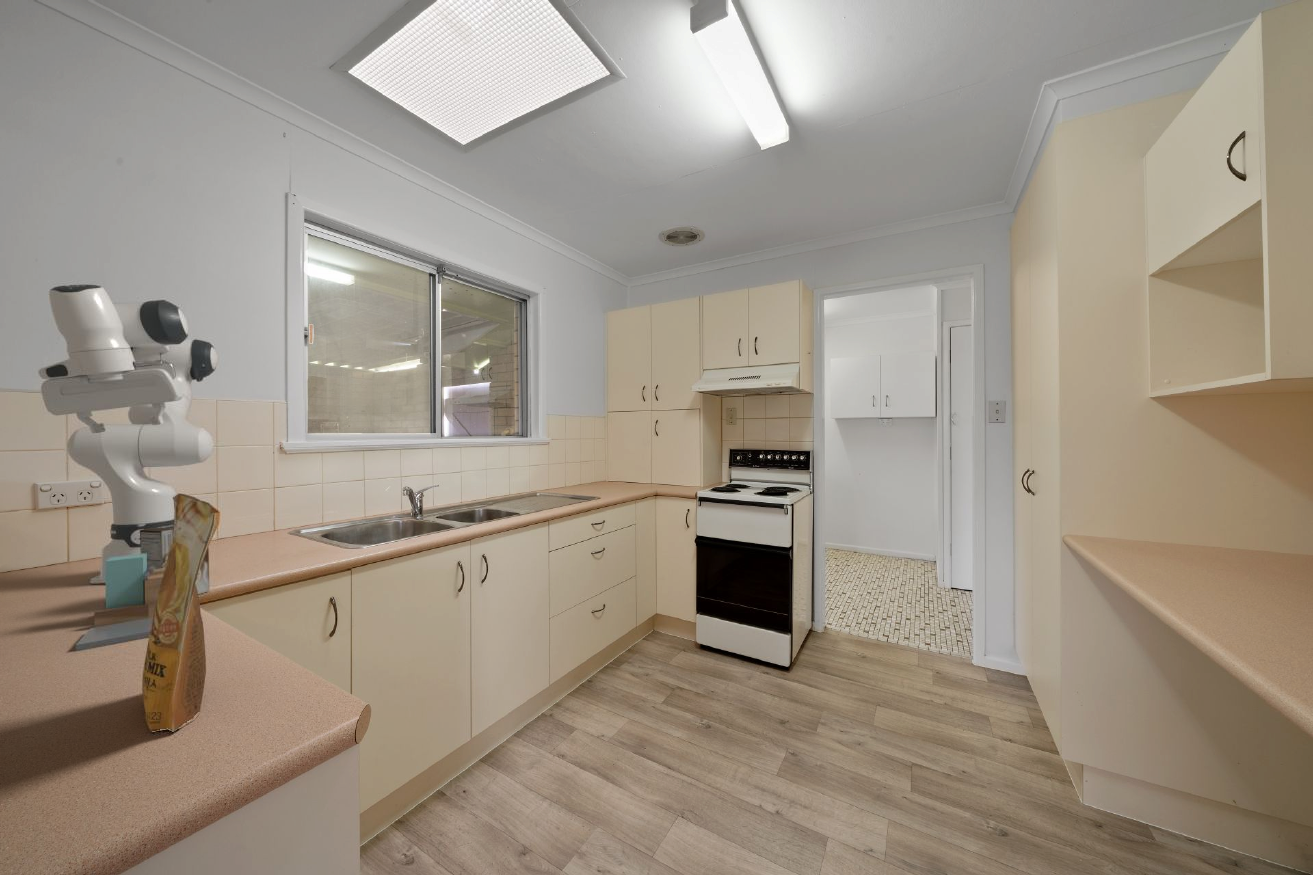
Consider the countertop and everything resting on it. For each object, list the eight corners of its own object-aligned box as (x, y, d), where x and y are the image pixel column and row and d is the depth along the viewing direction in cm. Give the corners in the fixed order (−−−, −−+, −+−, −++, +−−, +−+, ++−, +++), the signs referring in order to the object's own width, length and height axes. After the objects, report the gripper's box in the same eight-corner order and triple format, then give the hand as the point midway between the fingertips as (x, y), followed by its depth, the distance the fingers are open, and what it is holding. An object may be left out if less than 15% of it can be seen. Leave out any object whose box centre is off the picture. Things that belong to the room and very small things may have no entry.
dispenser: (106, 614, 96) (106, 571, 96) (186, 601, 104) (185, 561, 104) (94, 628, 89) (94, 581, 89) (180, 613, 97) (180, 570, 97)
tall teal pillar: (110, 617, 95) (110, 557, 95) (147, 611, 98) (146, 553, 98) (105, 623, 92) (105, 561, 92) (143, 616, 95) (143, 557, 95)
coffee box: (189, 589, 112) (188, 521, 112) (210, 591, 111) (210, 522, 110) (139, 603, 103) (138, 529, 103) (162, 605, 102) (161, 530, 101)
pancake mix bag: (205, 672, 73) (204, 490, 73) (223, 722, 60) (221, 502, 60) (140, 690, 68) (139, 494, 68) (145, 748, 55) (143, 508, 55)
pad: (90, 633, 87) (90, 628, 87) (160, 621, 93) (160, 616, 93) (75, 650, 80) (75, 644, 80) (152, 636, 86) (152, 630, 86)
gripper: (176, 358, 107) (196, 417, 111) (46, 370, 98) (72, 434, 102) (164, 359, 102) (186, 421, 105) (25, 371, 93) (54, 440, 96)
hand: (129, 428), depth 104 cm, fingers open, 8 cm apart
